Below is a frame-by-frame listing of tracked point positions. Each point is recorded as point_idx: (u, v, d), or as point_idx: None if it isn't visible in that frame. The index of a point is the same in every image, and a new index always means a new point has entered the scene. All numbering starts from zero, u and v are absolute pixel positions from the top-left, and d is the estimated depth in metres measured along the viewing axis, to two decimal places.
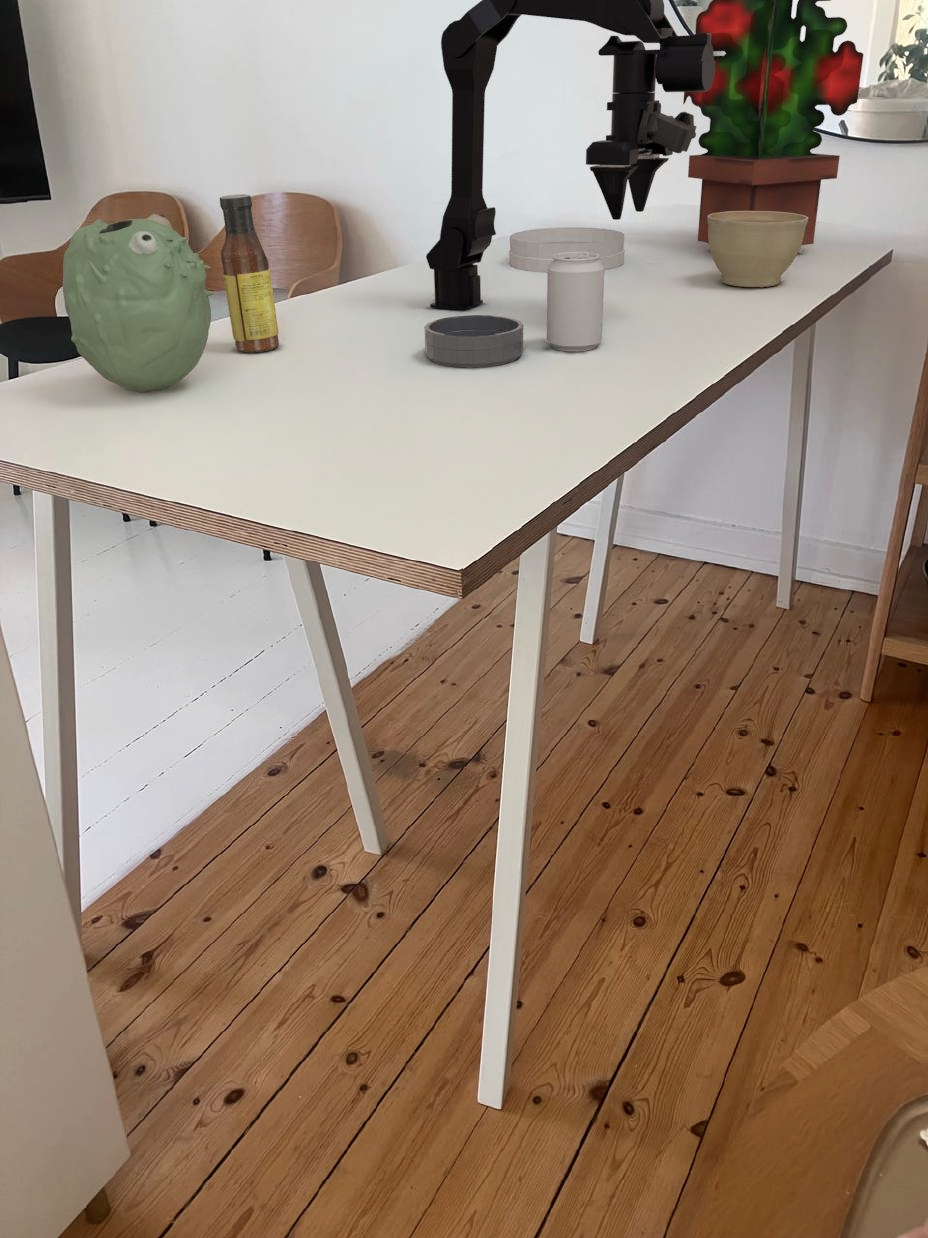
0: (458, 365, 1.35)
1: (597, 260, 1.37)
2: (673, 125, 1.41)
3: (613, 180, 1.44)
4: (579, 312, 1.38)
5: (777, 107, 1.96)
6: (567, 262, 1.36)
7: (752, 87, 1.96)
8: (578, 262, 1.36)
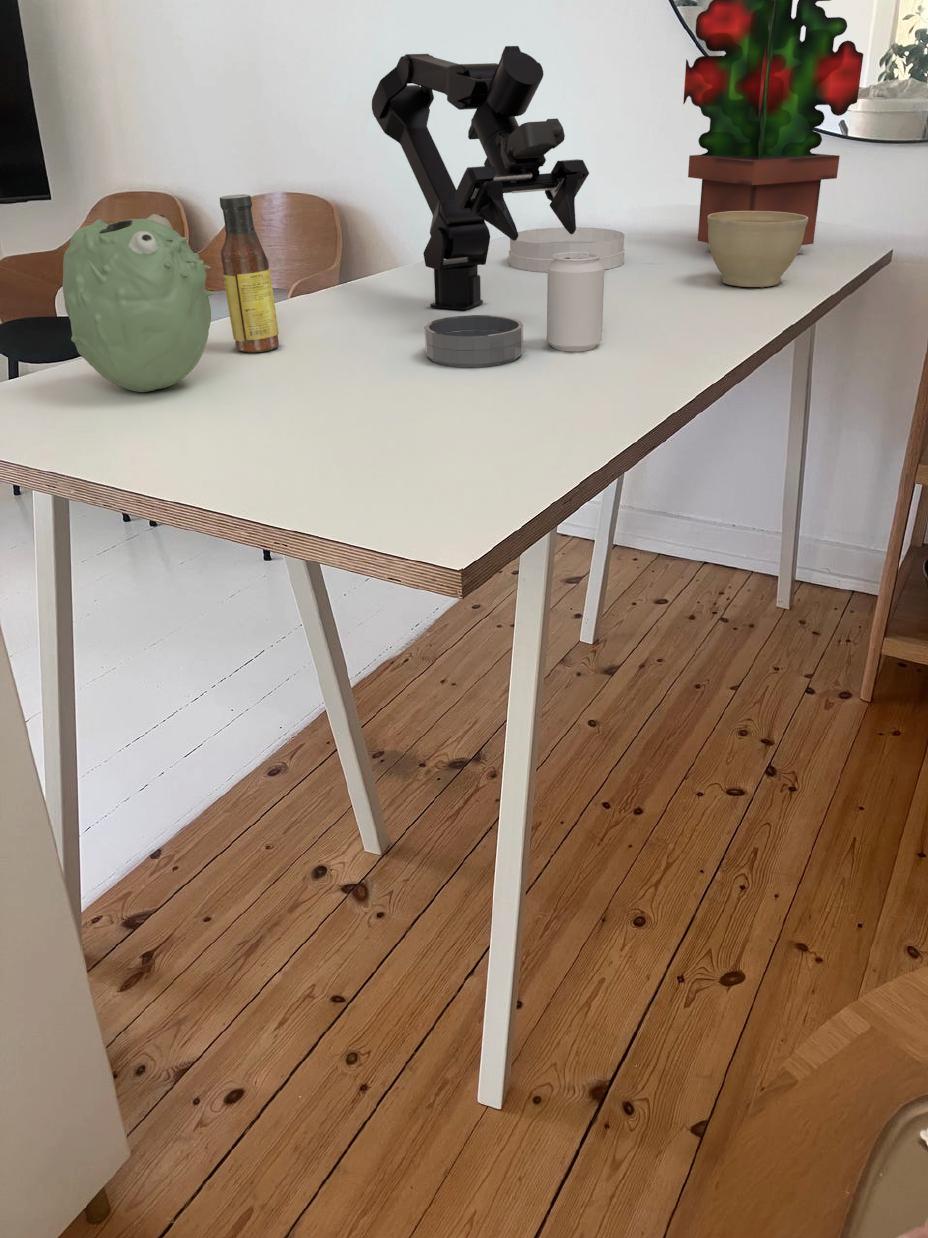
0: (458, 365, 1.35)
1: (597, 260, 1.37)
2: (516, 129, 1.39)
3: (494, 208, 1.42)
4: (579, 312, 1.38)
5: (777, 107, 1.96)
6: (567, 262, 1.36)
7: (752, 87, 1.96)
8: (578, 262, 1.36)
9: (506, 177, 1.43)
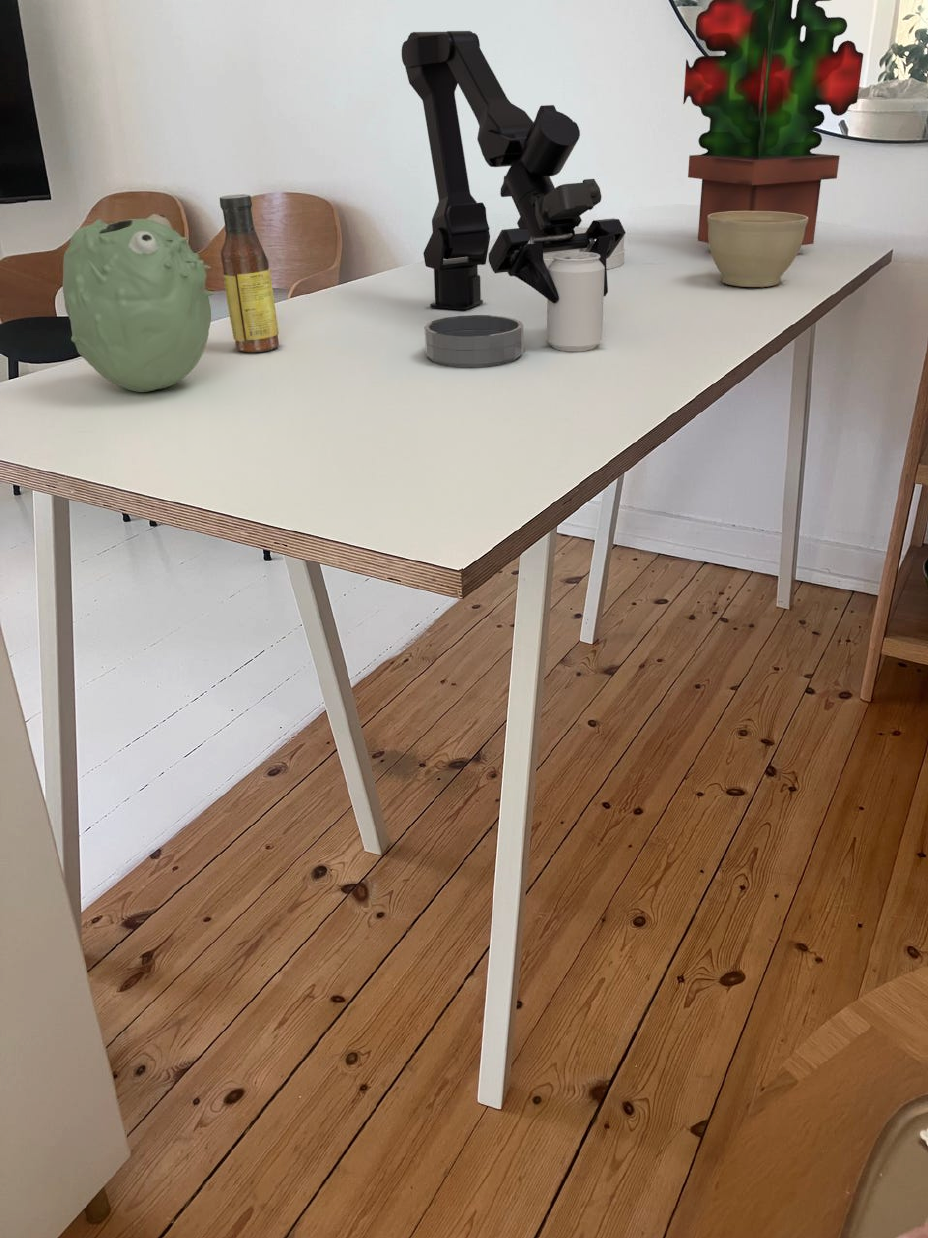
0: (458, 365, 1.35)
1: (597, 260, 1.37)
2: (552, 191, 1.35)
3: (533, 270, 1.39)
4: (579, 312, 1.38)
5: (777, 107, 1.96)
6: (567, 262, 1.36)
7: (752, 87, 1.96)
8: (578, 262, 1.36)
9: (546, 238, 1.39)
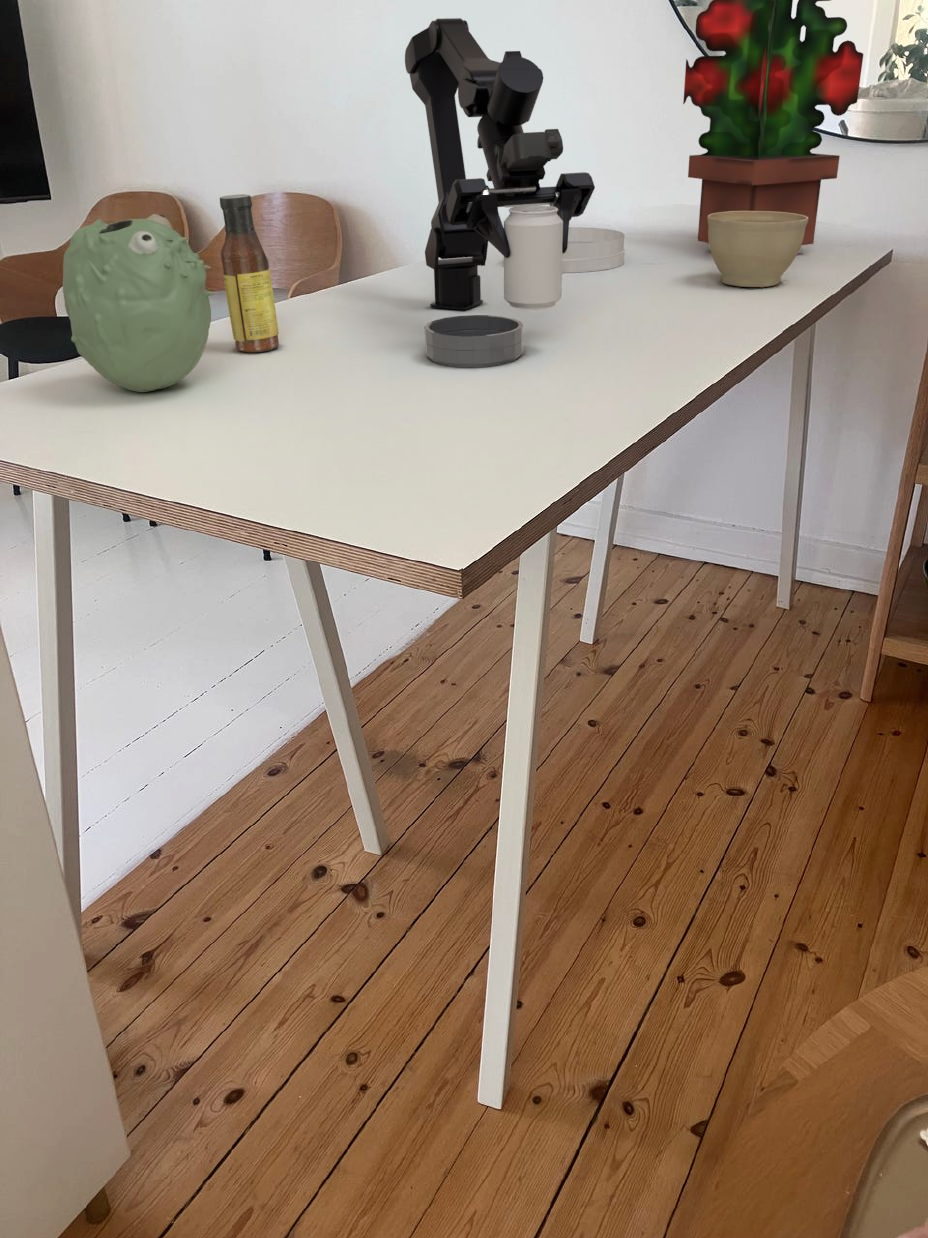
0: (458, 365, 1.35)
1: (553, 214, 1.32)
2: (509, 140, 1.31)
3: (489, 223, 1.35)
4: (531, 267, 1.33)
5: (777, 107, 1.96)
6: (519, 215, 1.31)
7: (752, 87, 1.96)
8: (530, 215, 1.31)
9: (505, 190, 1.35)
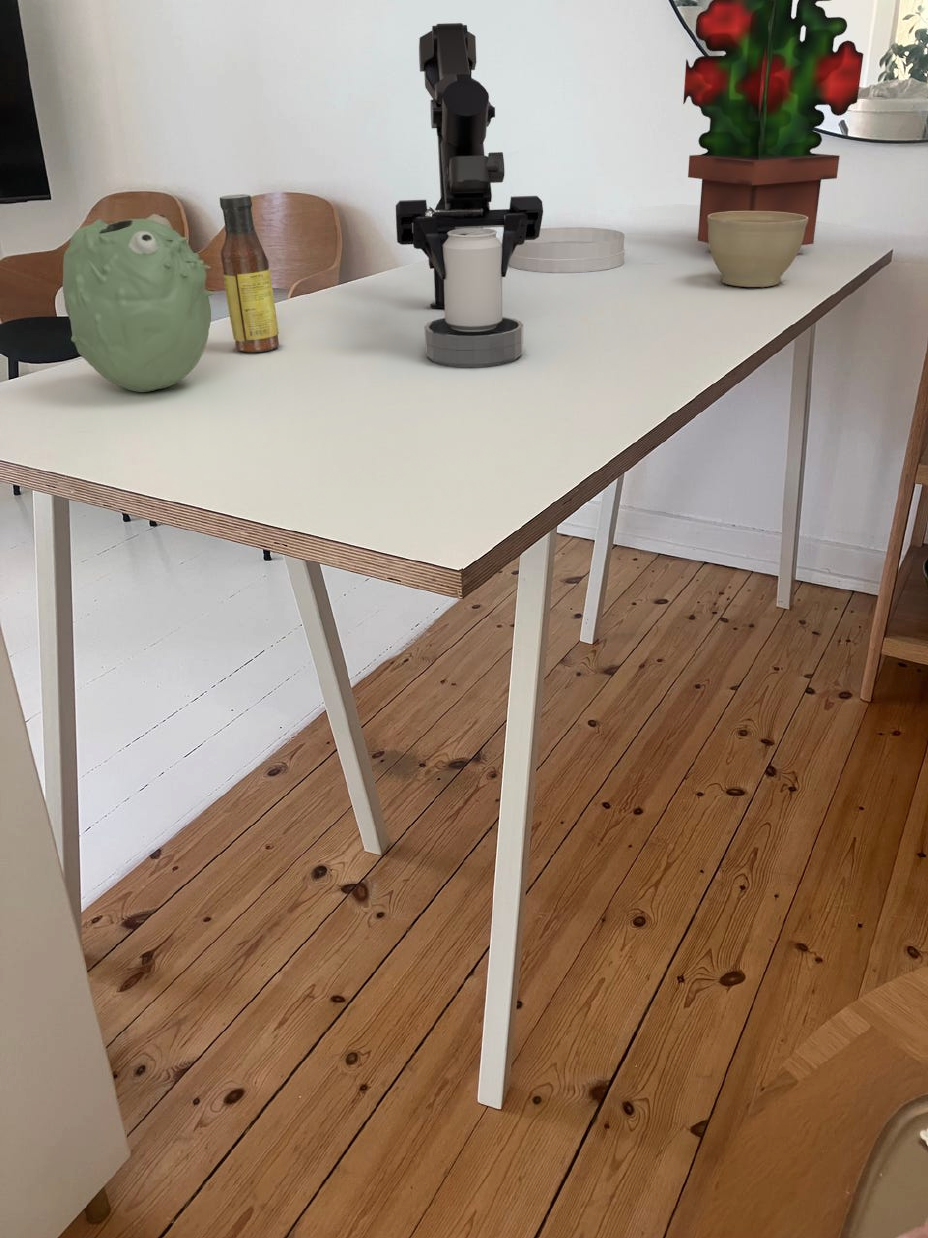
0: (458, 365, 1.35)
1: (487, 238, 1.31)
2: (449, 163, 1.31)
3: None
4: (463, 290, 1.33)
5: (777, 107, 1.96)
6: (453, 238, 1.32)
7: (752, 87, 1.96)
8: (462, 238, 1.31)
9: (450, 212, 1.35)
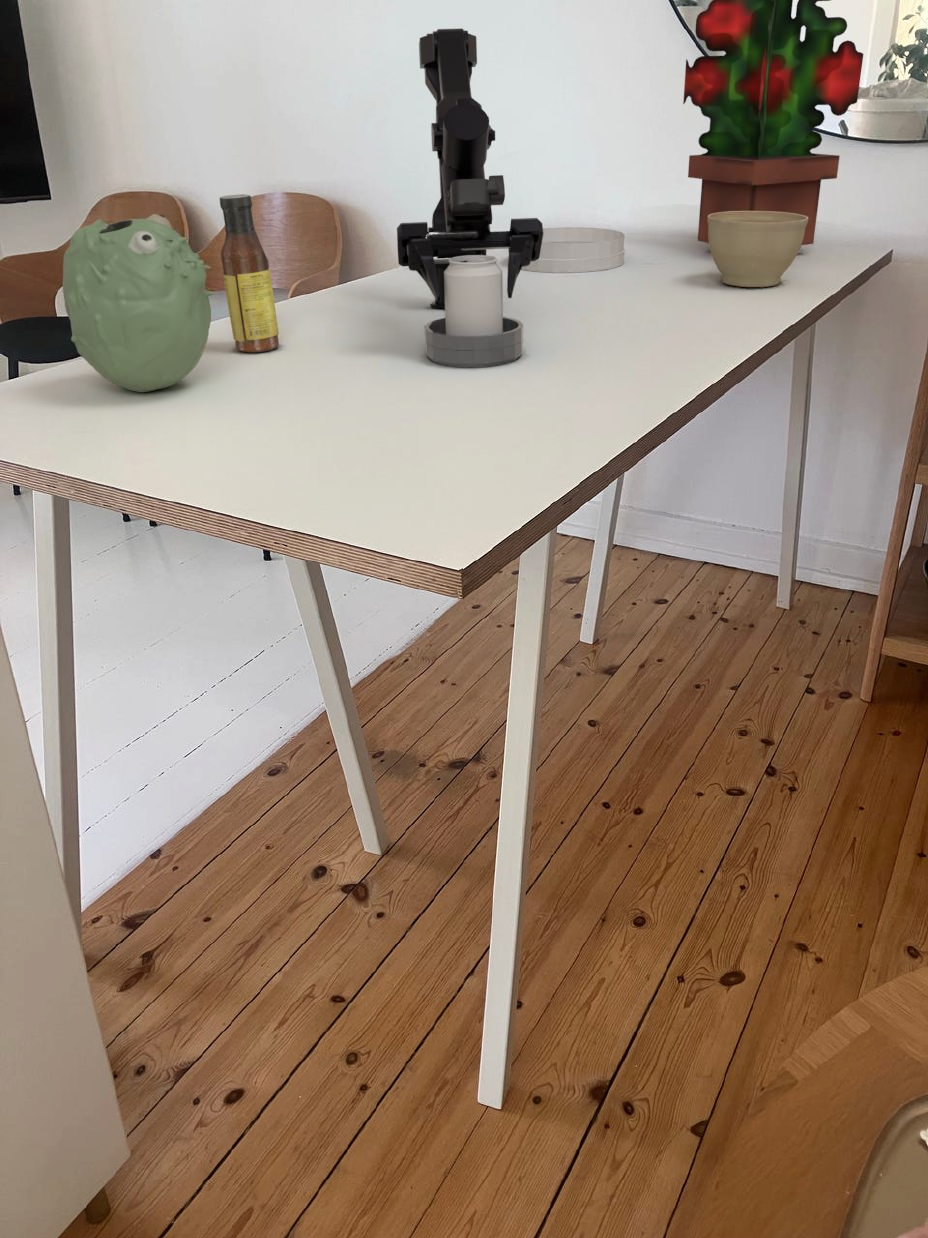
0: (458, 365, 1.35)
1: (488, 265, 1.33)
2: (450, 186, 1.32)
3: None
4: (463, 316, 1.35)
5: (777, 107, 1.96)
6: (454, 265, 1.33)
7: (752, 87, 1.96)
8: (463, 266, 1.32)
9: (445, 234, 1.36)
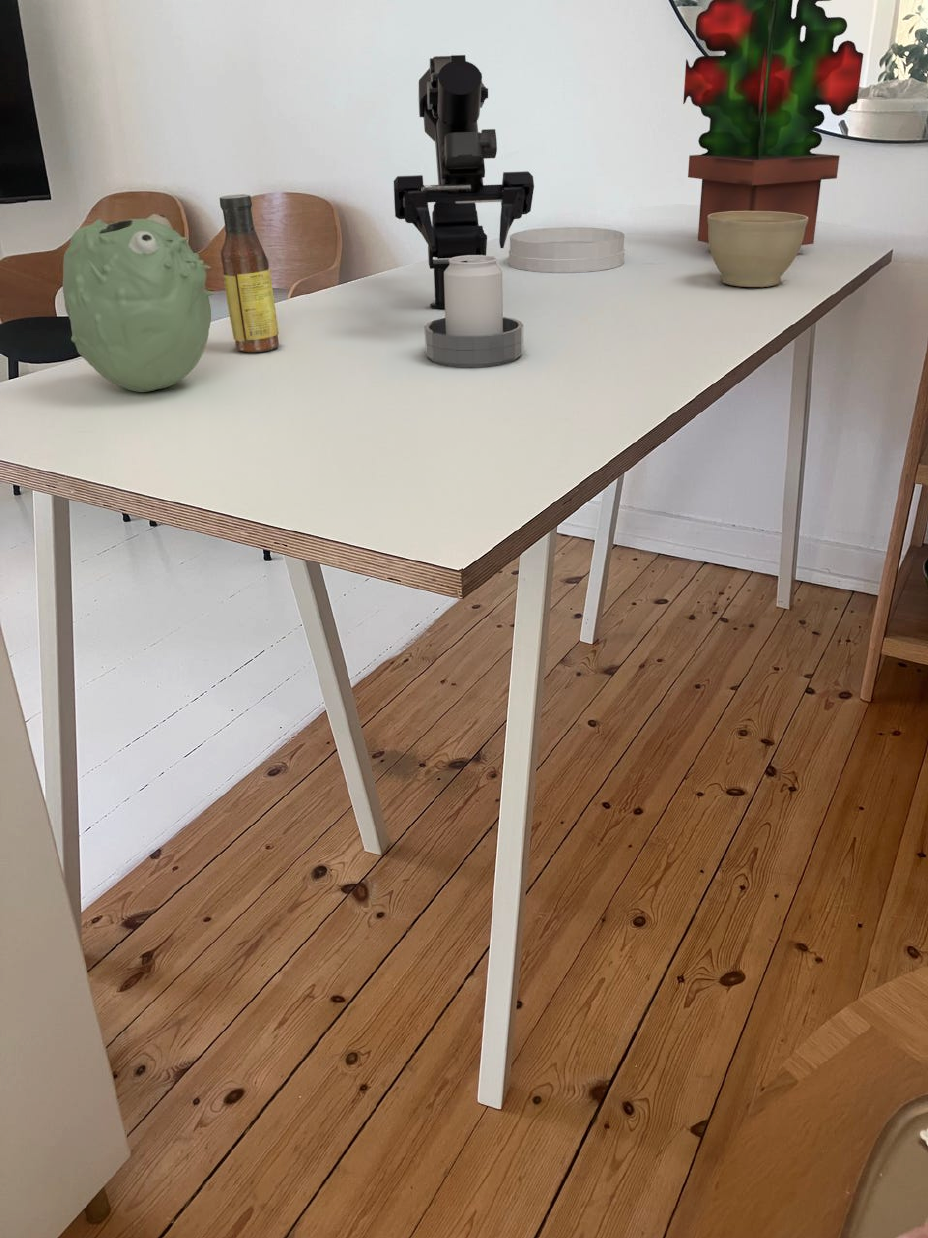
0: (458, 365, 1.35)
1: (488, 265, 1.33)
2: None
3: None
4: (463, 316, 1.35)
5: (777, 107, 1.96)
6: (454, 265, 1.33)
7: (752, 87, 1.96)
8: (463, 266, 1.32)
9: (440, 187, 1.42)
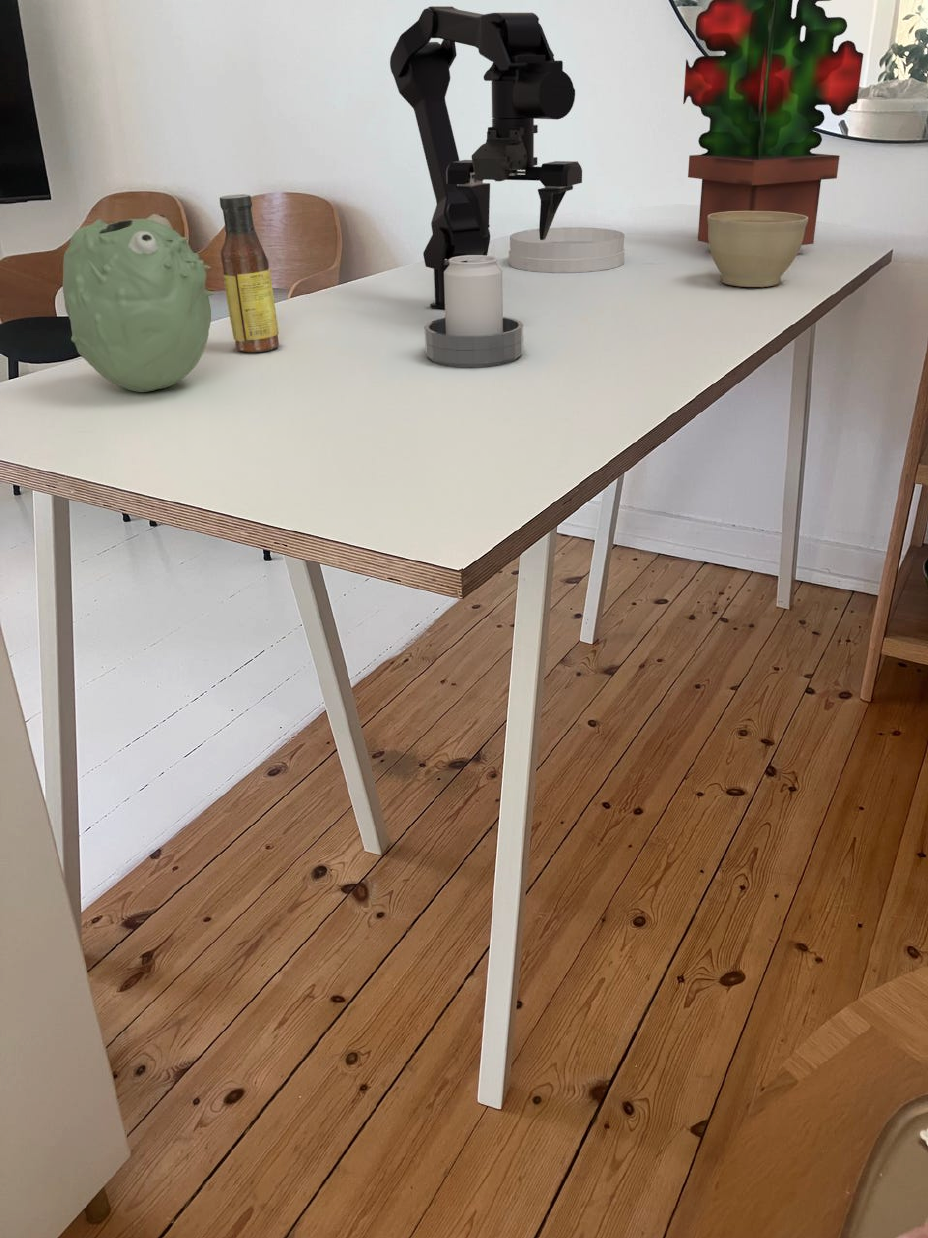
0: (458, 365, 1.35)
1: (488, 265, 1.33)
2: (475, 152, 1.42)
3: None
4: (463, 316, 1.35)
5: (777, 107, 1.96)
6: (454, 265, 1.33)
7: (752, 87, 1.96)
8: (463, 266, 1.32)
9: None
